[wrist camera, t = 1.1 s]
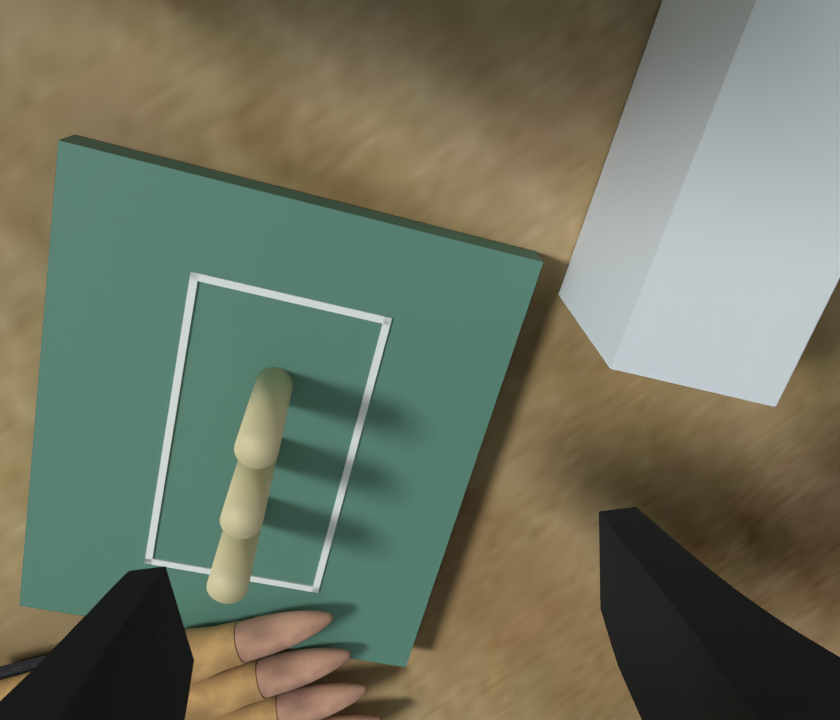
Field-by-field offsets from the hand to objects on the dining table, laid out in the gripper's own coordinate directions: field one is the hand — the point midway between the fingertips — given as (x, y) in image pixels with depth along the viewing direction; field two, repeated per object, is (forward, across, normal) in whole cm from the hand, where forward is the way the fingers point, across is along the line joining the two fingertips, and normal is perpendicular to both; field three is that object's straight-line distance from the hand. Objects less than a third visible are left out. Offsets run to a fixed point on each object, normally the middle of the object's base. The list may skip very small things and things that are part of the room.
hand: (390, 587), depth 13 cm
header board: (+10, +4, +2) cm, 10 cm away
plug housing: (+10, -8, -4) cm, 14 cm away
